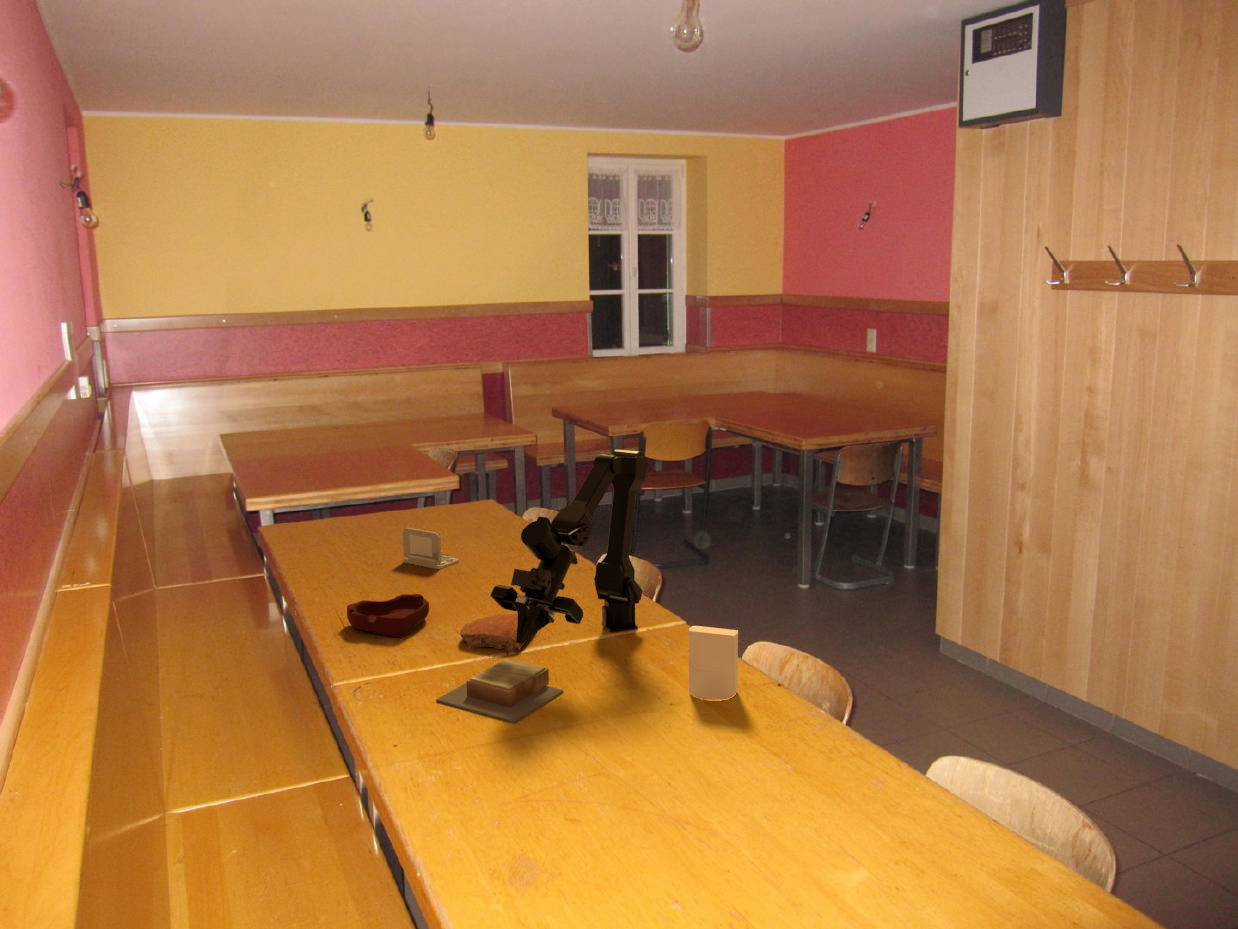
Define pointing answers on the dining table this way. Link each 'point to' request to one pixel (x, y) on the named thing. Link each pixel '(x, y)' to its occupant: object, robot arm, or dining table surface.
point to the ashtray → (389, 615)
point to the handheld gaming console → (425, 549)
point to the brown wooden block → (508, 682)
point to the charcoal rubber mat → (495, 710)
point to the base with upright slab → (713, 662)
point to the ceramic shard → (493, 632)
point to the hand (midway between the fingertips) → (518, 643)
